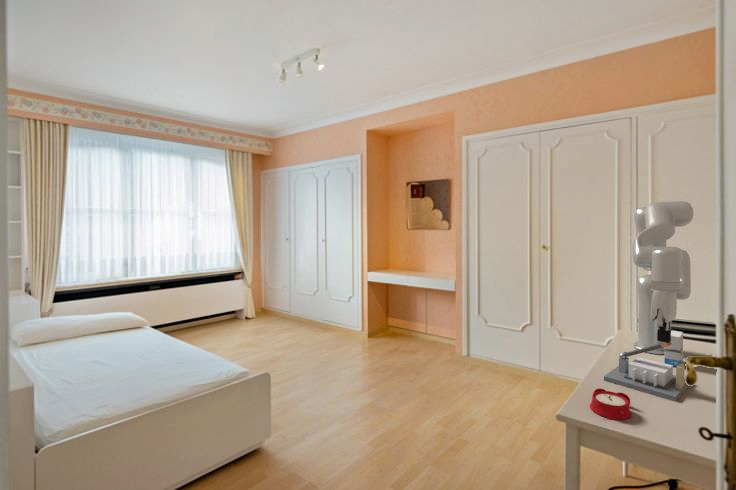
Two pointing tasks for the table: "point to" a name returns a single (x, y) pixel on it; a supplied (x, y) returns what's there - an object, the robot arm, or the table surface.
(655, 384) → the heatsink board
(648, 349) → the grey flat bar
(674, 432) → the table surface
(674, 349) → the ink box
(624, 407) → the alarm clock
